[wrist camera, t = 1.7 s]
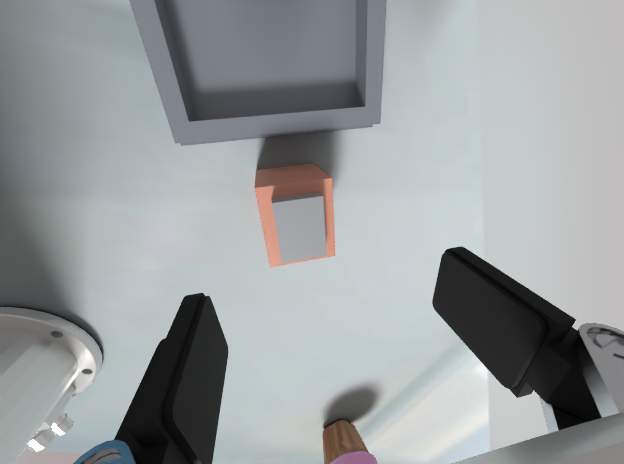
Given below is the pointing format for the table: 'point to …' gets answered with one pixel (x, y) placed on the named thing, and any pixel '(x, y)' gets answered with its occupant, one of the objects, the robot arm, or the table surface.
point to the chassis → (264, 65)
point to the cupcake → (345, 445)
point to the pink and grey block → (296, 213)
